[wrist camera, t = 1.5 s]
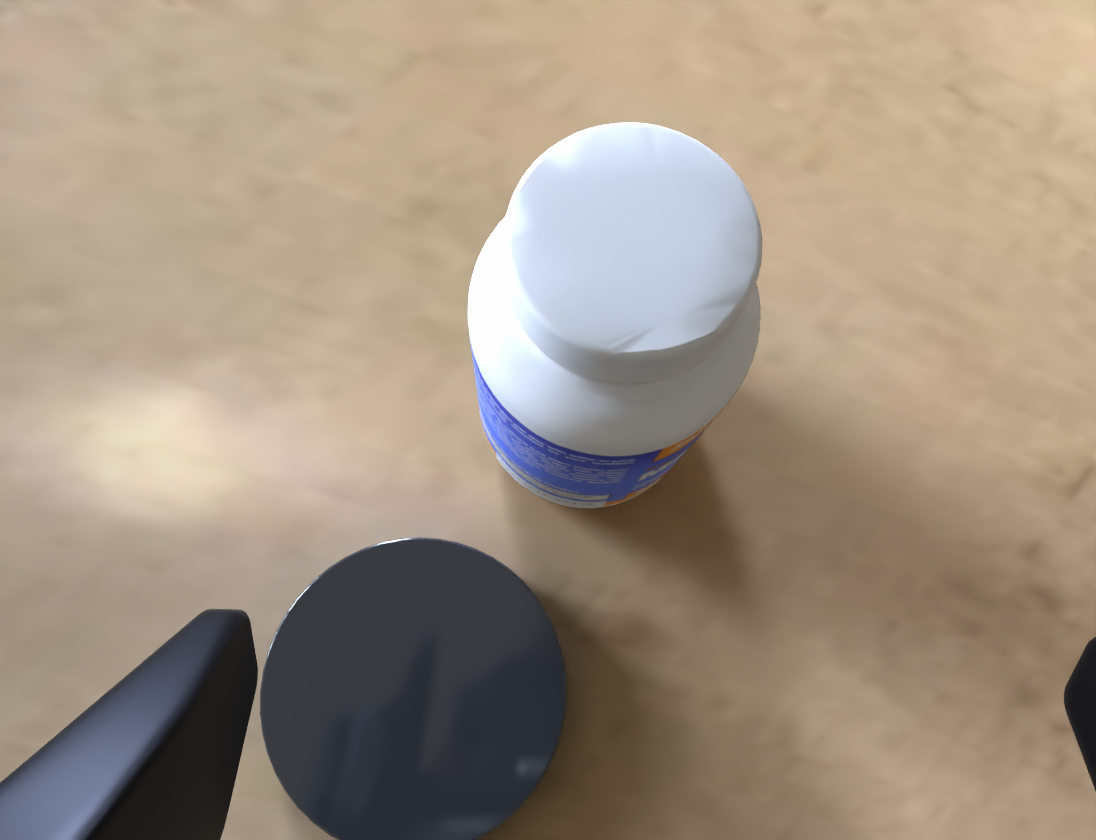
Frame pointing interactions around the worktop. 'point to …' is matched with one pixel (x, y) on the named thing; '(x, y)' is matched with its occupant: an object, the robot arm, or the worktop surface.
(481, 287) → the pill bottle
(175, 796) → the robot arm
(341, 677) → the coaster
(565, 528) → the worktop surface
